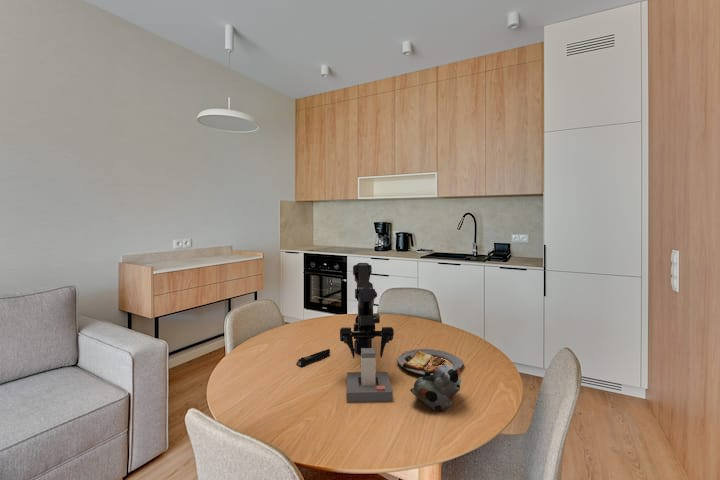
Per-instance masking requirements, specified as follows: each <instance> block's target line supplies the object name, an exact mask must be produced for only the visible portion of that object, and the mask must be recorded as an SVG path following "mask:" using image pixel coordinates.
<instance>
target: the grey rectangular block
mask: <svg viewBox="0 0 720 480" xmlns="http://www.w3.org/2000/svg"><path fill="white" fill-rule="evenodd" d="M375 349H376V348H375V347H372V348H361V355H360V372H361V386H376V372H377V371H376V368H377V367H376V365H377V364H376V361H377V359H376V357H377V355H376V350H375Z"/></svg>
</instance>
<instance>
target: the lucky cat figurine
mask: <svg viewBox="0 0 720 480" xmlns="http://www.w3.org/2000/svg"><path fill="white" fill-rule="evenodd" d="M460 371H461V368H457V369H455V368H454V367H452V366H450V364H449V365H448V364H445V365H442V366H439V367H437V369H436V370H435V371H434V373H433V375H431V373H430V370H428V369H427V370H426V371H425V375H422V376H420V377H418V378H417V379H416V380H415V381H414V384H413V387H412V388H411V389H409V391H410V393H411V394H412V395H414V396H415V397H416V398H417V399H420V401H422V402H423V403H424V404H425V405H426V406H427V407H430V408H431V409H433V410H437V409H438V412H444V411H445V410H447V409H448V408H450V407H451V406H452V403H453V398H454V396H455V395H456V394H457V393H458V392H460V391H461V383H462V379H461V372H460Z"/></svg>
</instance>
